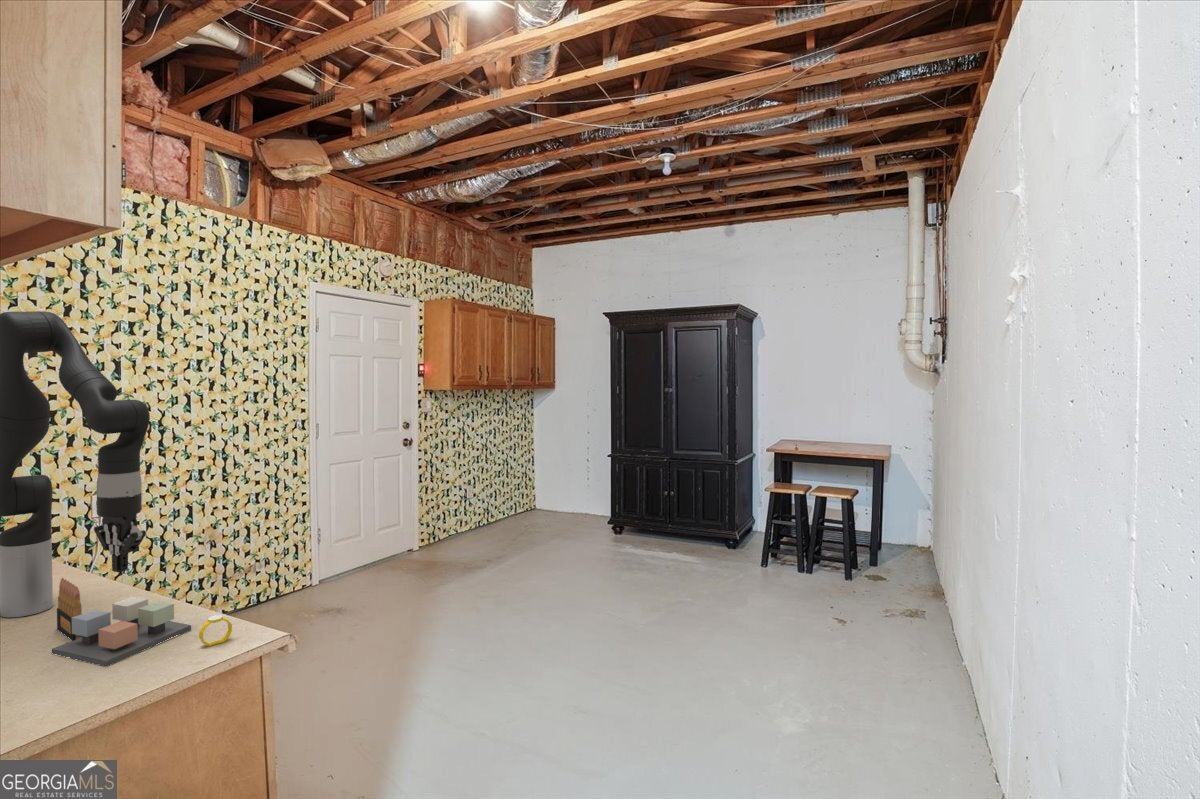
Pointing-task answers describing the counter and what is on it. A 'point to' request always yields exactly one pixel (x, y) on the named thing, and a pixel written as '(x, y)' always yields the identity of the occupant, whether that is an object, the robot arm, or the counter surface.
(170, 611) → the sage key
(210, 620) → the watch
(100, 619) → the slate key
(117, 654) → the keypad board
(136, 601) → the cream key
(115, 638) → the terracotta key
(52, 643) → the counter surface
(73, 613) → the ammunition clip
